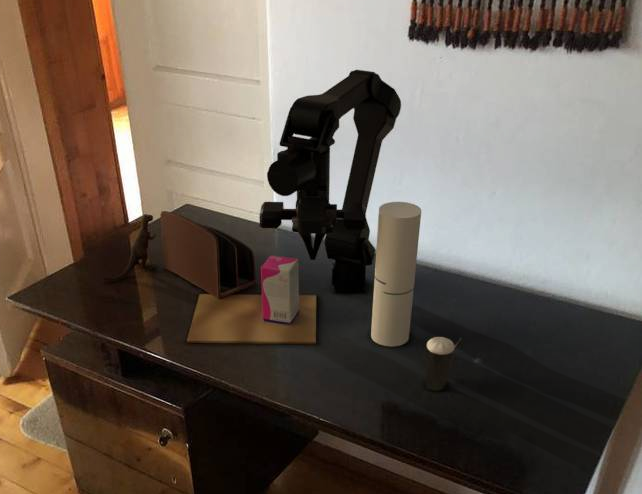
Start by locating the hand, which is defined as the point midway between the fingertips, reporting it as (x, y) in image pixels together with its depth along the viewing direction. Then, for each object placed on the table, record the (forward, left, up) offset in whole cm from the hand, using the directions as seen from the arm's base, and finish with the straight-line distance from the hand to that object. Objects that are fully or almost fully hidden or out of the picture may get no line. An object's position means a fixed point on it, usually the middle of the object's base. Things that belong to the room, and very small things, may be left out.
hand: (312, 259), depth 136 cm
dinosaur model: (+39, -19, -13) cm, 46 cm away
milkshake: (-22, +22, -13) cm, 34 cm away
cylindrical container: (-15, +6, -13) cm, 21 cm away
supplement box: (+6, 0, -13) cm, 14 cm away
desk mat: (+11, 0, -13) cm, 17 cm away
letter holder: (+22, -17, -13) cm, 31 cm away
